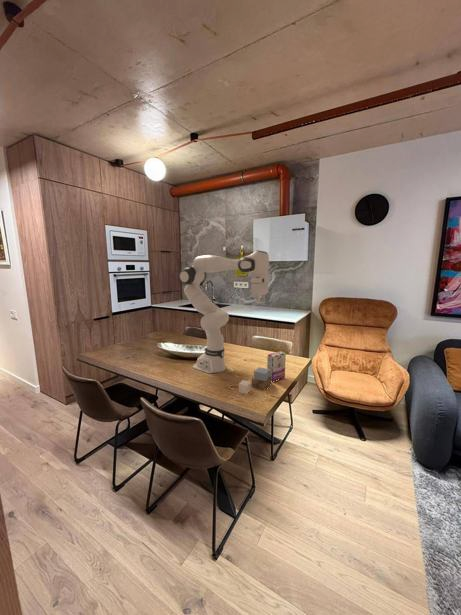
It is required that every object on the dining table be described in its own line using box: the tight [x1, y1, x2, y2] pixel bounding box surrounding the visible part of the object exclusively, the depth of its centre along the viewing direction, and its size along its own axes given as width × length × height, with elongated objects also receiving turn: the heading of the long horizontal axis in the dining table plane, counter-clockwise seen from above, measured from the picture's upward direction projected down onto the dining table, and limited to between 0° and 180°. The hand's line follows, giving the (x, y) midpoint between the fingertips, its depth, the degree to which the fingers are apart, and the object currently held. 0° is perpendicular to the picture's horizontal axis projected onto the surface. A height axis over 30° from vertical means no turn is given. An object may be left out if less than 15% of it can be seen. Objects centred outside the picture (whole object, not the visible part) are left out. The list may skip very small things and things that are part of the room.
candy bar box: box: [266, 350, 287, 383], centre depth 157 cm, size 11×5×16 cm, turn 126°
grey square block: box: [253, 366, 270, 381], centre depth 149 cm, size 7×7×4 cm
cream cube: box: [238, 379, 252, 395], centre depth 143 cm, size 5×5×5 cm
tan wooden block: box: [251, 376, 272, 391], centre depth 150 cm, size 9×9×5 cm
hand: (260, 302), depth 152 cm, fingers open, 8 cm apart
